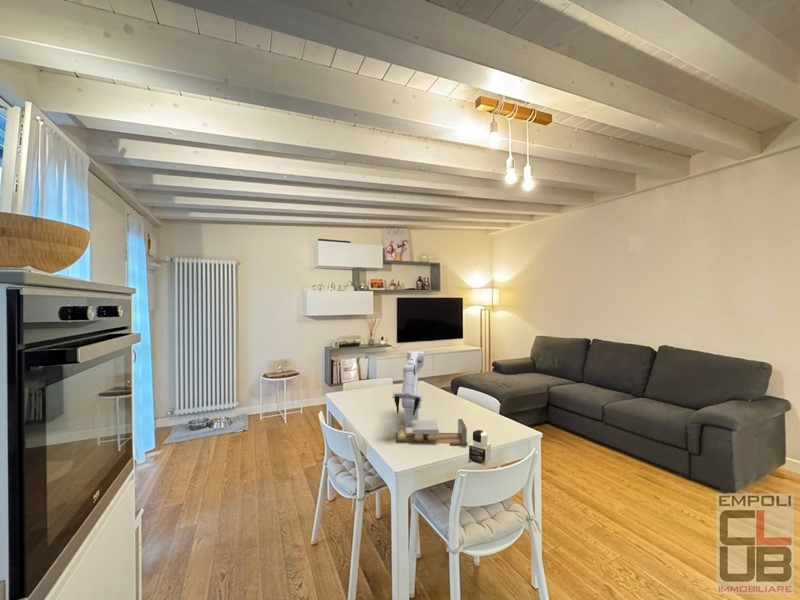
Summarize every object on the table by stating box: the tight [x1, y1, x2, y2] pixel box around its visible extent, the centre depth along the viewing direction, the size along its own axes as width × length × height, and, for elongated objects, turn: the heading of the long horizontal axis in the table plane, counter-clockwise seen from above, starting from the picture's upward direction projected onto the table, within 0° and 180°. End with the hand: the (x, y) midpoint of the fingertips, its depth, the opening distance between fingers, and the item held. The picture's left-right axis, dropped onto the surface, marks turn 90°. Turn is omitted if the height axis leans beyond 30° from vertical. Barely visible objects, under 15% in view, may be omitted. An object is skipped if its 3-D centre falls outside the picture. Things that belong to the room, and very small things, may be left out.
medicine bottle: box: [468, 429, 492, 466], centre depth 142 cm, size 7×7×12 cm
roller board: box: [395, 418, 469, 447], centre depth 162 cm, size 12×34×8 cm, turn 90°
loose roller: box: [397, 425, 407, 442], centre depth 162 cm, size 10×4×4 cm, turn 0°
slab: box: [411, 419, 440, 434], centre depth 162 cm, size 12×12×2 cm
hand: (405, 413), depth 160 cm, fingers open, 7 cm apart
